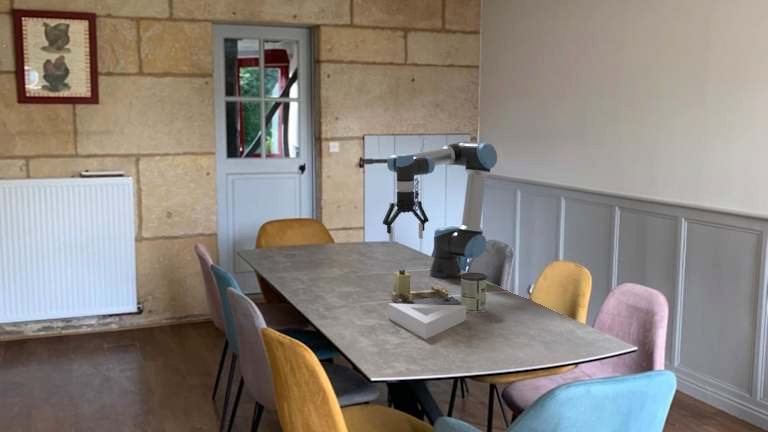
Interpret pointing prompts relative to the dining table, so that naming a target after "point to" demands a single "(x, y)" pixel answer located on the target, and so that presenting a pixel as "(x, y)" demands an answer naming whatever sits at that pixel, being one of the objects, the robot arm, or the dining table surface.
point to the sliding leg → (402, 283)
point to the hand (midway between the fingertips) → (405, 239)
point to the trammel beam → (422, 294)
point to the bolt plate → (431, 301)
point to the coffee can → (473, 292)
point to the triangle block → (426, 317)
